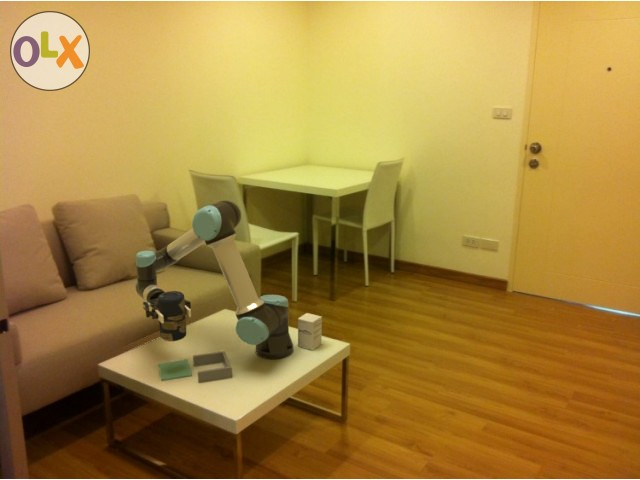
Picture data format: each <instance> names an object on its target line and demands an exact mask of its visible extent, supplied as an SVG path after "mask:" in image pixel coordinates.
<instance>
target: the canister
mask: <svg viewBox="0 0 640 480" xmlns="http://www.w3.org/2000/svg"><path fill="white" fill-rule="evenodd" d="M185 298H186V297H185V295H184V293H183V292H181V291H179V290H178V291H176V290H170V291H164V293H162V294H160V295H159V296H158V309H159V312H160V313H161V314H162V315H163V317H164V323H161V322H160V321H159V320H158V322H159V333H160V335H159V337H160V338H161V340H163V341H167V342H177V341H180V340H182V339H185V337H186V336H187V321H186V320H187V318H186V316H187V315H186V313H185V300H186V299H185Z"/></svg>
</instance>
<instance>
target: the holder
mask: <svg viewBox="0 0 640 480" xmlns="http://www.w3.org/2000/svg"><path fill="white" fill-rule="evenodd" d="M218 363H222V364H223V366H224V367H223V366H221V367H217V368H210V369H204V370H197V382H198V384H201V383H205V382H212V381H218V380H226V379H232V378H233V368H232V365H231V362H230V360H229V358H228V355H227V353H226V351H225V350H221V351H214V352H206V353H201V354H194V355H192V364H193V367H198V366H199V367H200V366H205V365H212V364H218Z"/></svg>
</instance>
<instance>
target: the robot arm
mask: <svg viewBox="0 0 640 480" xmlns="http://www.w3.org/2000/svg"><path fill="white" fill-rule="evenodd" d="M241 219H242V211H241V209H240V207H239V206H238V205H237V204H236V203H235V202H233V201H230V200H221V201H218V202H215V203H211V204H209V205H205V206H204V207H202V208H200V209H198V210H197V211H196V212H195V214H194V215H193V218H192V221H191V222H192V228H191V229H190V230H189V229H188V230H187V232H185V233H184V234H182V235H181V236H179V237H178V238H176V239H175V240H174V241H172V242H171V243H169V244H167V245H165V246H164V247H163V248H161V249H160V250H157V251H153V250H142V251H139V252H137V253H136V255H135V266H136V279H137V281H136V282H135V285H134V288H135V291H136V293H137V295H138V296H139V297H141V298H142V299H143V300H144V301H143V302H142V305H143V307H142V308H143V310H145V316H146V318H147V319H148V318H150V317H151V319H152V320H156V319H157V320H158V322H159V321H160V322H161V323H164V317H163V315H162V314H161V313H160V312H159V309H158V296H159V295H160V294H162V293H164V292H165V291H164V289H162V288H161V287H160V286H158V276H157V272H160V271H161V270H163V269H166V268H167V267H170V266H173V265H174V264H176V263H179V262H178V261H179V260H180V259H182V258H183V257H185V256H187V255H189V254H190V253H191V252H193V251H194V250H196V249H197V248H199V247H201V246H202V245H203V244H205V245H206V247H208V248H211V249H212V251H213V254H214V256H215V259H216V260H217V263H218V265H219V268H220V269H221V272H222V275H223V277H224V280H225V282H226V285H227V286H228V288H229V292H230V294H231V296H232V298H233V301H234V303H235V306H236V310H235V316H236V319H237V322H236V324H235V325H236V326H235V332H236V334H237V336H238V338H239V339H240V340H241V341H242V342H244V343H246V344H247V345H251V346H255V353H256V355H257V356H259V357H261V358H263V359H267V360H269V359H270V360H278V359H283V358H286V357H289V356H290V355H292V354H293V352H294V344H293V343H294V342H293V340H292V338H291V335H290V332H289V329H290V328H289V327H290V326H289V325H290V324H289V318H290V317H289V314H290V313H289V312H290V310H289V309H290V308H289V307H290V306H289V300H288V298H287V297H286V296H284V295H283V296H282V295H279V294H264V295H262V296H259V297H258V293H257V291H256V289H255V287H254V284H253V281H252V279H251V277H250V274H249V272H248V270H247V268H246V265H245V262H244V261H243V257H242V255H241V253H240V251H239V248H238V246H237V243H236V241H235V238H236V236H237V232H236V230H235V229H236V228H237V227H238V226H239V225H240V222H241ZM191 306H192V304H191V301H189V300H186V299H185V313H186V315H185V316H187V317H188V318H191V317H192V309H191V308H192V307H191ZM150 307H151V310H150Z"/></svg>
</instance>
